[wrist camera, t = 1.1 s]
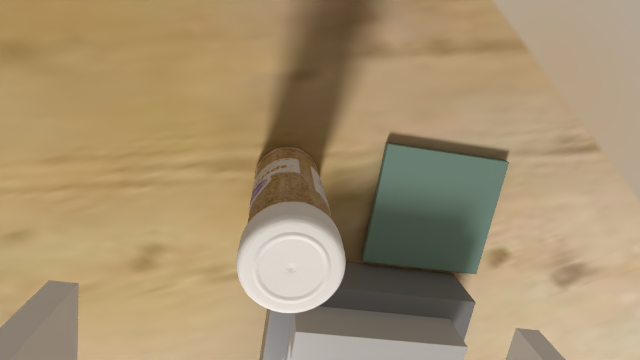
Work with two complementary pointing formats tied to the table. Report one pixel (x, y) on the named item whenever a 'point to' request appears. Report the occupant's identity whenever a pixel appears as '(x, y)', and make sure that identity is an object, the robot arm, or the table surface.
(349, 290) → the grey square holder
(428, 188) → the mat
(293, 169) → the sprinkles bottle
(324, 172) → the table surface
